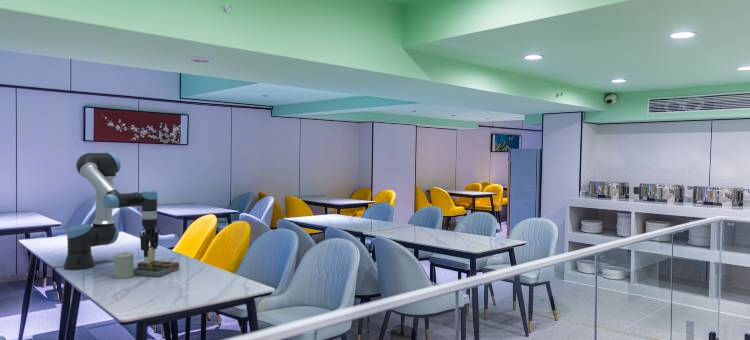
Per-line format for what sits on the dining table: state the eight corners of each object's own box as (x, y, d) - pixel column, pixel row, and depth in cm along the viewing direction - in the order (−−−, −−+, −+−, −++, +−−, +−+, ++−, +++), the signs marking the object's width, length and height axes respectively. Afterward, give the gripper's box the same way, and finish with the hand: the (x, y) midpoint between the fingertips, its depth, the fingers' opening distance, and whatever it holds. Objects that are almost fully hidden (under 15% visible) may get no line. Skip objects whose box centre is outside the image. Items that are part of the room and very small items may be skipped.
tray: (129, 274, 281) (129, 270, 281) (140, 271, 290) (140, 266, 290) (158, 277, 277) (158, 272, 277) (169, 273, 285) (169, 269, 285)
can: (135, 273, 283) (134, 251, 282) (132, 277, 274) (131, 255, 274) (116, 274, 281) (116, 252, 280) (113, 279, 272) (112, 256, 271)
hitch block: (137, 270, 292) (137, 263, 291) (148, 267, 300) (148, 260, 300) (168, 273, 287) (168, 265, 287) (178, 269, 295) (178, 262, 295)
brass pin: (144, 271, 282) (144, 247, 282) (148, 270, 285) (149, 246, 285) (150, 272, 281) (150, 248, 281) (154, 270, 285) (154, 246, 284)
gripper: (145, 220, 273) (145, 265, 274) (165, 217, 289) (165, 259, 290) (132, 220, 275) (132, 264, 276) (153, 216, 291) (153, 258, 292)
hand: (149, 261), depth 283 cm, fingers closed on brass pin, 4 cm apart
